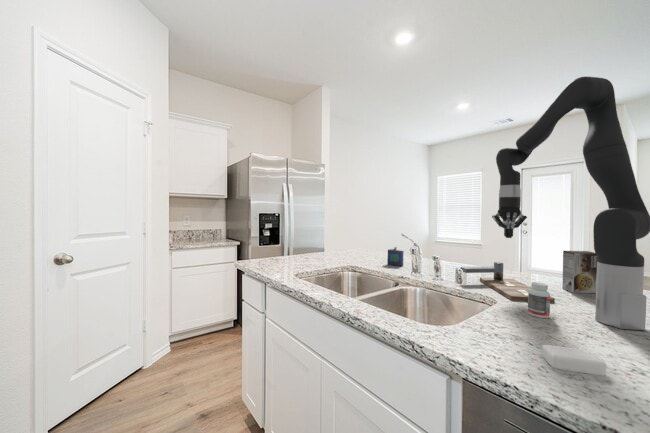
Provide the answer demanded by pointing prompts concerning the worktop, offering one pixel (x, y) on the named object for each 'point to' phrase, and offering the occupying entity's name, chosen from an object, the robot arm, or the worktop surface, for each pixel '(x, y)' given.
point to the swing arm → (487, 270)
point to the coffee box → (579, 271)
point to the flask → (395, 257)
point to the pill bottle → (539, 300)
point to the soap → (574, 360)
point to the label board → (510, 288)
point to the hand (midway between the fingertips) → (508, 237)
